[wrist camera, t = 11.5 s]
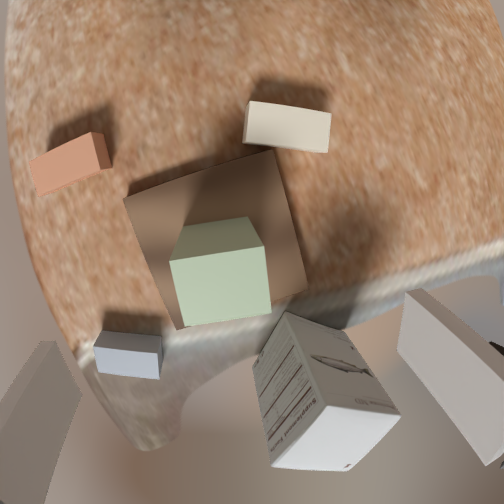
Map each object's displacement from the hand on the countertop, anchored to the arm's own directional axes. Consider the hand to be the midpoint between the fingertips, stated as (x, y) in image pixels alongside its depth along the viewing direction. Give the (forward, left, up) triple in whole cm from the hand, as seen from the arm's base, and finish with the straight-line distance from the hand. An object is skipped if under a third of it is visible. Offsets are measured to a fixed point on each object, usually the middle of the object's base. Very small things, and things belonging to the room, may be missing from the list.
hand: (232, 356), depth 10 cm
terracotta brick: (-8, -11, -16) cm, 21 cm away
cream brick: (-8, +6, -16) cm, 19 cm away
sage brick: (0, 0, -15) cm, 15 cm away
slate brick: (+9, -10, -16) cm, 21 cm away
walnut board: (0, 0, -16) cm, 16 cm away
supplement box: (+12, +6, -16) cm, 21 cm away
